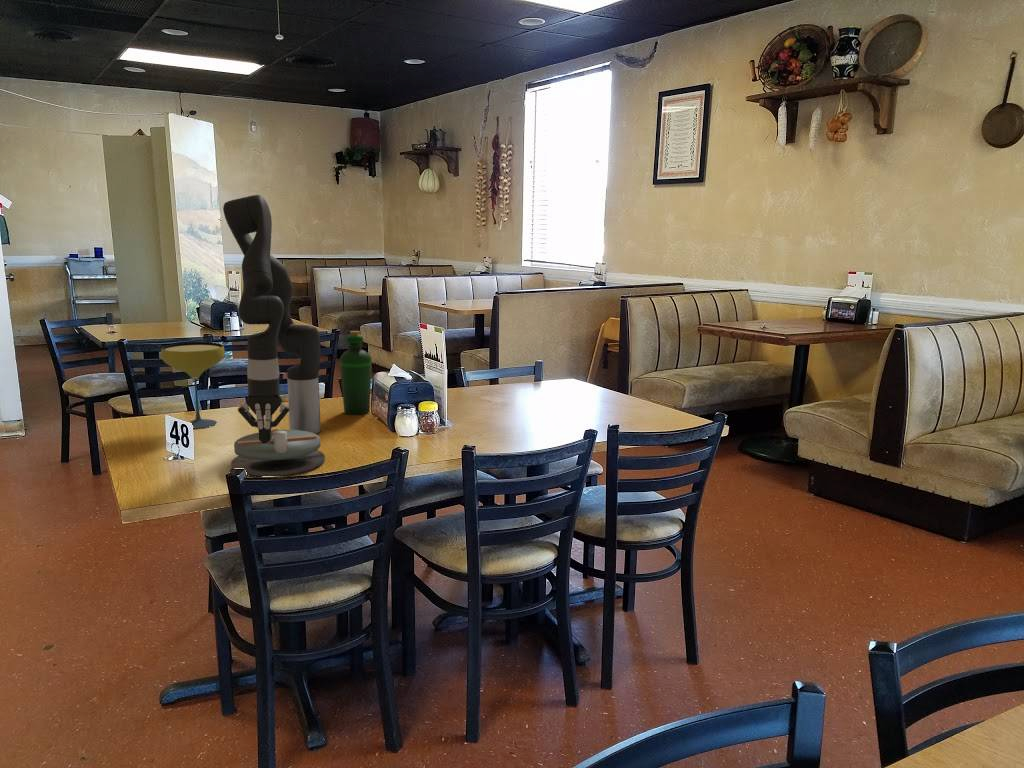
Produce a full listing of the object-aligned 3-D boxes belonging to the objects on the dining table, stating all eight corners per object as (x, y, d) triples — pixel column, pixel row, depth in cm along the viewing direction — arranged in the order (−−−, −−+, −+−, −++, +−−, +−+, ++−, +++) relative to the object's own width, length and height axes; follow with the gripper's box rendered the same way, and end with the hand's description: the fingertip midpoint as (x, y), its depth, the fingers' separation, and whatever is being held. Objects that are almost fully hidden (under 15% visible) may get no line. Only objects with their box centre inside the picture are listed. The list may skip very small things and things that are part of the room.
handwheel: (233, 440, 202) (231, 416, 201) (314, 433, 211) (313, 410, 209) (236, 464, 183) (234, 437, 181) (326, 455, 191) (325, 430, 189)
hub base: (240, 450, 207) (239, 437, 206) (327, 448, 211) (327, 434, 210) (222, 479, 184) (221, 464, 183) (321, 475, 188) (320, 460, 187)
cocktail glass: (239, 424, 234) (234, 347, 228) (183, 435, 220) (176, 353, 215) (212, 414, 245) (207, 340, 240) (157, 424, 232) (150, 346, 227)
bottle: (370, 407, 258) (368, 328, 253) (374, 415, 249) (373, 333, 243) (339, 409, 255) (337, 329, 249) (342, 417, 245) (340, 334, 239)
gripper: (232, 378, 178) (234, 446, 182) (288, 379, 180) (289, 446, 184) (239, 372, 185) (241, 438, 189) (292, 373, 187) (294, 438, 191)
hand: (265, 442), depth 186 cm, fingers closed
